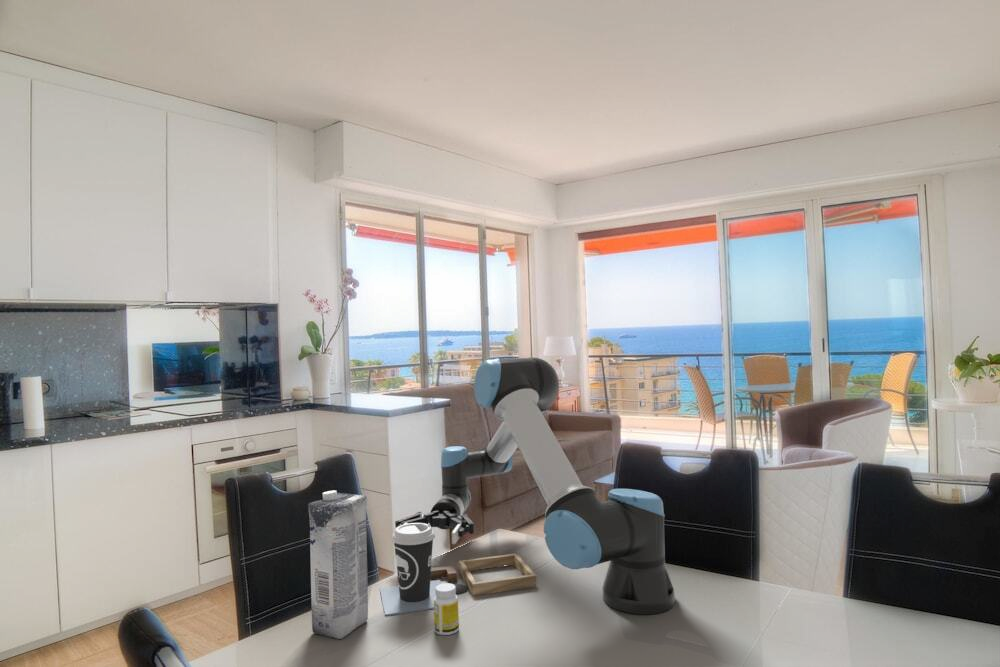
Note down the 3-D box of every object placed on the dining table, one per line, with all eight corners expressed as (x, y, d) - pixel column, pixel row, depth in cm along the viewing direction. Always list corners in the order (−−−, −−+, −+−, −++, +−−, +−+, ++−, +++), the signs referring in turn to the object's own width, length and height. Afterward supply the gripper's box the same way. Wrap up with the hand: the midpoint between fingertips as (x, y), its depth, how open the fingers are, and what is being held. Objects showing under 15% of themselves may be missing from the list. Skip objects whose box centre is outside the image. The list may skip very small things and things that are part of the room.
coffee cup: (433, 605, 128) (431, 534, 128) (389, 605, 128) (387, 535, 128) (438, 586, 138) (437, 521, 138) (397, 587, 138) (395, 522, 138)
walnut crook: (456, 581, 141) (456, 572, 141) (422, 585, 139) (422, 576, 139) (453, 573, 146) (453, 565, 146) (420, 577, 144) (420, 569, 144)
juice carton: (374, 619, 123) (371, 487, 123) (341, 643, 113) (338, 500, 114) (340, 612, 127) (337, 484, 127) (304, 635, 117) (301, 496, 117)
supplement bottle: (463, 626, 119) (462, 584, 119) (451, 637, 115) (450, 593, 115) (442, 622, 121) (441, 580, 121) (429, 633, 117) (428, 589, 117)
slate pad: (451, 606, 128) (451, 604, 128) (385, 615, 124) (385, 614, 124) (439, 581, 142) (439, 579, 142) (379, 589, 138) (379, 587, 138)
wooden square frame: (536, 586, 137) (536, 575, 137) (472, 595, 133) (472, 584, 133) (516, 563, 152) (516, 553, 152) (458, 571, 147) (458, 560, 148)
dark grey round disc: (469, 592, 135) (469, 591, 135) (448, 595, 134) (448, 594, 134) (465, 583, 140) (464, 582, 140) (443, 586, 138) (443, 585, 138)
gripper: (492, 526, 162) (477, 555, 141) (403, 524, 166) (375, 551, 145) (491, 498, 162) (476, 523, 141) (402, 497, 166) (375, 520, 145)
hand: (425, 537), depth 143 cm, fingers open, 13 cm apart
